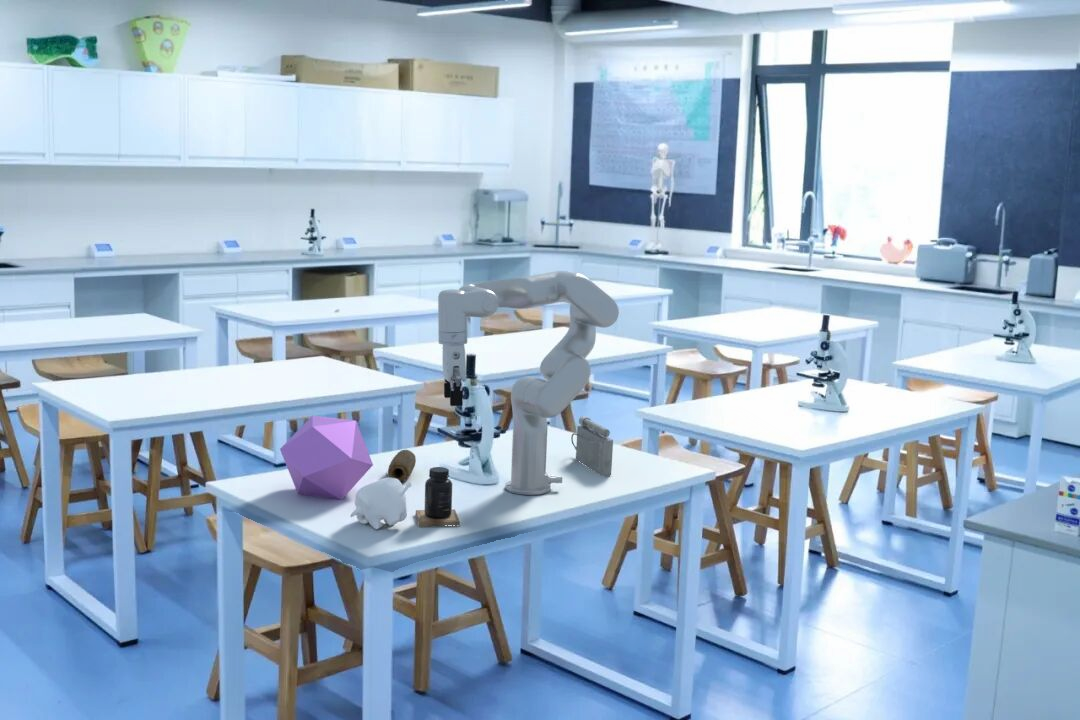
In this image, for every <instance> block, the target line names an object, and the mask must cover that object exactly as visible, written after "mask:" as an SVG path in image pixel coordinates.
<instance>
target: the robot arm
mask: <svg viewBox="0 0 1080 720" xmlns="http://www.w3.org/2000/svg"><path fill="white" fill-rule="evenodd" d="M437 298H438V299H437V300H438V301H437V303H438V306H437V309H438V311H437V312H438V313H437V314H438V319H437V321H438V322H437V323H438V344H440V345H442V375H443V377H444V383H443V395H444V398H445V399H449V405H450V407H461V406H463V401H464V400H463V396H464V395H463V392H464V391H463V384H462V382H466V381H467V365H466V364H467V361H466V349H465V347H466V346H465V345H466V344H467V343H468V318H469V317H471V318H482V319H483V318H489V317H491V316H493V315H494V314H495V313H496V312H497V311H498V309H499V308H508V309H509V308H510V309H517V310H521V309H532V308H533V309H534V308H537V307H542V306H546V305H547V306H549V305H553V304H558V303H566V304H569V316H570V317H569V319H570V321H569V327H568V330H567V332H566V333H565V335H564V336H563V337H562V338H561V340H560V341H559V342H557V344H556V345H555V346H553V348H552V349H550V351H549V352H548V353H547V354H546V355H545V356H544V357H543V359H542V361H541V363H540V365H539V372H540V374H541V376H542V377H543V378H544V379H545V380H544V379H542V378H538V377H536V376H532V375H529V376H528V375H527V376H526V375H525V376H523V377H520V378H518V379H517V380H516V381H515V382H514V384H513V385H512V388H511V391H510V403H511V409H512V442H511V443H512V444H511V445H512V446H511V448H512V449H511V473H510V475H511V476H510V480H508V481H506V482H505V485H504V487H505V490H506V491H508V492H510V493H513V494H517V495H526V496H537V495H543V494H546V493H548V492H550V491H551V488H552V487H551V486H552V484H563V476H561V475H560V476H559V475H556V474H548V473H547V470H546V469H547V446H548V420H547V419H551V418H556V417H557V416H558V415H560V414H561V413H562V412H563V411H564V410H565V409H566V408H567V407H568V406H569V405H570V404H571V403H572V401H574V399H576V398H577V396H578V395H579V394H580V393H581V392H582V391H583V390H584V388H585V387H586V386H587V384H588V382H589V380H590V377H591V365H590V362H589V361H588V360H587V359H586V358H587V357H588V356H589V355H590V353H591V352H592V350H593V349H594V347H595V343H596V339H597V338H596V336H597V329H596V328H610V327H611V326H613V325H614V324H615V323H616V322H617V320H618V318H619V313H620V312H619V306H618V304H617V302H616V300H615V299H613V297H611V296H610V295H609V294H608V293H607V292H605V290H603V289H602V288H600V287H599V286H598V285H597V284H596V283H595V282H593V280H591V279H589V278H588V277H587V276H585V275H583V274H581V273H577V272H572V271H568V270H567V271H566V270H557V271H549V272H545V273H541V274H534V275H528V276H522V277H514V278H504V279H496V280H495V279H493V280H487V281H481V282H480V281H478V282H474V283H469V284H465V285H462V286H461V287H460V288H459V289H453V288H451V289H444V290H443V289H442V290H441V291H440V292H438V296H437Z"/></svg>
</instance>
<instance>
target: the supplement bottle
mask: <svg viewBox="0 0 1080 720" xmlns="http://www.w3.org/2000/svg"><path fill="white" fill-rule="evenodd" d="M449 473H450V470H449V468H447V467H442V466H434V467H430V468H429V474H428V477H429V478H428V479H426V481H425V482H424V483H425V484H424V510H425V515H426V516H427V517H428V518H432V519H445V518H448V517H450V516H451V513H452V508H453V506H452V505H453V503H452V502H453V481H452V480H451V479H450V478H449V477H450V474H449Z"/></svg>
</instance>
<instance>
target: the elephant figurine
mask: <svg viewBox="0 0 1080 720" xmlns="http://www.w3.org/2000/svg"><path fill="white" fill-rule="evenodd" d="M411 487H412V482H410V481H409V482H407V483H405V486H403V484H402V481H399V480H398V479H396V478H390V477H384V478H381V479H378V480H376V481H373V482H370V483H368V484H365V485H363V486H362V487H361V488H360V489H359V490H358V491H357V492H356V494H355V498H354V505H355V509H354V510H353V511H352V512H351V513H350V515H349V516H350V518H353V517H354V516H356V519H357V520H358V522H360V523H361V524H363V525H366V524H370V526H371V527H373V529H375V530H379V529H381V528H382V527H383V525H384V523H383V522H381V521H382V520H383V521H384V522H385V523H386V525H387V524H388V526H393V525H396V524H398V523H401V522H404V521H405V519H407V516H408V515H407V514H408V513H407V512H408V510H407V498H406V493H407V491H408V489H409V488H411Z"/></svg>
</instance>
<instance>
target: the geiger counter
mask: <svg viewBox="0 0 1080 720" xmlns="http://www.w3.org/2000/svg"><path fill="white" fill-rule="evenodd" d="M578 423H579V425H577V427H576V430H577V431H576V432H574V433H573V432H572V434H571V440H570V441H571V444H572V446H573V447H574V450H575V460H576V459H577V460H578V461H577V460H576V461H577V462H579V461H580V462H581V463H580V462H579V463H580V464H582V463H583V464H584V465H583V464H582V465H583V466H585V465H586V466H587V468H588V467H589V468H588V469H590V470H591V469H592V471H593V472H594V471H595V472H594V473H597V474H598V475H599V474H600V475H599V476H601V477H611V476H612V469H613V467H612V466H613V450H614V439H613V438H612V439H611V437H609V436H610V434H611V432H610V430H609V429H607V428H605V427H604V426H602V425H600V424H598V423H596V422H594V421H592V420H591V418H590V417H587V416H586V415H581V416H580V418H579V419H578ZM574 435H575V436H576V445H575V443H574V440H573V439H574V438H573V437H574ZM586 466H585V467H586ZM610 475H611V476H610Z"/></svg>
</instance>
